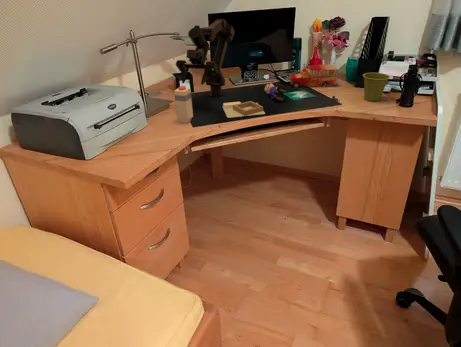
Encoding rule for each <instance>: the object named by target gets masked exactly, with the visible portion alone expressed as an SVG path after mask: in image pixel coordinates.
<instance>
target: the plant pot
mask: <svg viewBox="0 0 461 347" xmlns="http://www.w3.org/2000/svg"><path fill="white" fill-rule="evenodd" d="M362 76H363V77H362V78H363V83H364V86H363V88H364V89H363V90H364V91H363V92H364V96H363V97H364V99H365V101H369V102H378V101H380V100H381V99H382V96H383V93H384V91H385V87H386V85H387V83H388V82H389V79H390V78H391V76H390V75H389V74H386V73H383V72H365V73H363V74H362Z"/></svg>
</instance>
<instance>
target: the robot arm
mask: <svg viewBox="0 0 461 347" xmlns="http://www.w3.org/2000/svg"><path fill="white" fill-rule="evenodd" d="M187 34H188V37H189V39H190V41H191V42H192V45H194V47H195V49H187V50H186V58H187V59H189V62H190V63H187V61H186V60H185V59H177V60H175V62H176V63H175V66H176V68H177V70H178V71H179V72H180V74H181V82H182V84H185V82H186V79H187V77H188V75H189V70H190V69H196V70H204V72H203V75H202V78H201V82H200V84H201V86H203V85H204V84H206V86H209V88H210V93H209V96H213V97H214V98H215V97H217V98H218V97H221V96H222V95H223V92H222V90H223V89H222V87H223V86H225V84H226V79H225V77H224V74H223V71H222V67H223V62H224V59H225V55H226V51H227V49H228V48H227V47H228V45H229V44H230V43H231V42H232V40H233V39H234V36H235V29H234V27H233V25H231V24H230V23H229V22H227V20H226V19H224V18H223V19H219V18H217V19H215V20H214V22H212V23H211V24H210V25H208V26H204V27H203V26H202V27H200V25H196V24H195V25H194V27H192V28H191V29H189V31H188V32H187ZM216 37H217V39H218V42H217V45H216V49H215V54H214V56H213V61H210V60H208V58H207V57H208V54H209V51H211V47H210V46H211V45H210V43H209V42H213V41H214V40H215V39H216Z"/></svg>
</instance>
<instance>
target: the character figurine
mask: <svg viewBox="0 0 461 347" xmlns="http://www.w3.org/2000/svg"><path fill="white" fill-rule="evenodd" d="M264 91H265V93H266V94H268V95H270V99H271V100H272V99H274V100H277V101H284V97H283V95H284V93H287V90H286V86H284V85H282V84H280V83H279V82H278V81H276V82H275V85H274V84H273V83H272V82H271V83H267V84H266V85H265V87H264Z"/></svg>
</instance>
